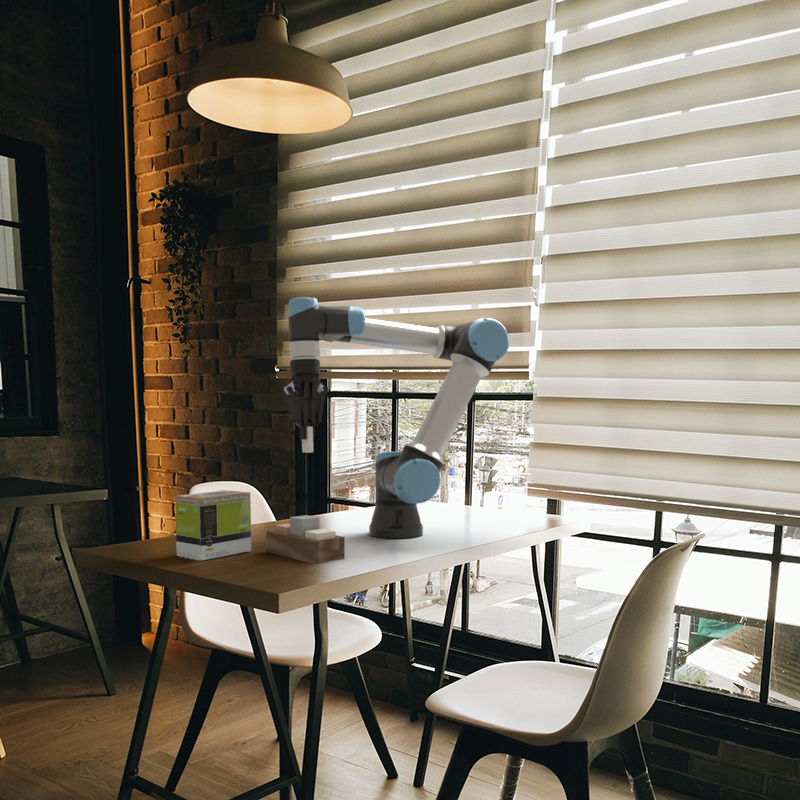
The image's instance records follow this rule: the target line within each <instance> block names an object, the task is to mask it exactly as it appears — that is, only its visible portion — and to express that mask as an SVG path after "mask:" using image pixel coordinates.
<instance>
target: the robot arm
mask: <svg viewBox="0 0 800 800" xmlns="http://www.w3.org/2000/svg"><path fill="white" fill-rule="evenodd" d="M318 301H319V300H318V299H317V298H316V297H312V296H311V297H310V296H298V297H293V298H291V299H289V301H288V315H287V318H288V335H289V337H288V338H289V341H288V342H289V346H288V347H289V358H290V359H291V360H290V361H289V373H290V375H291V378H290V381H289V384H288V385H287V386H283V387H282V392H283V393H284V395H285V397H286V400H287V401H286V402H287V405H288V409H289V414H290V418H291V423H292V425H296V427H298V428H299V429H298V430H299V439H300V440H301V451H302V453H306V454H308V453H314V439H315V438H316V428H315V427H316V426H318V424H321V423H322V418H323V412H324V406H325V400H326V395H327V393H328V390H329V387H328V386H327V385H323V384H322V383H321V379H320V374H321V361H320V360H319V359H318V358H320V356H321V354H320V339H321V340H322V341H324V342H329V343H332V342H339V343H350V344H357V345H363V346H365V345H366V346H371V347H379V348H385V349H386V348H387V349H392V350H399V351H400V350H401V351H406V352H414V353H422V354H428V355H432V356H433V358H435V359H439V360H444V361H451V362H452V365H451V366H450V368H449V370H448V372H447V373H446V374H447V375H446V376H445V378H444V380H443V382H442V384H441V385H440V388H439V390H438V392H437V394H436V395H435V398H434V400H433V401H432V403H431V406H430V408H429V410H428V412H427V413H426V416H425V418H424V420H423V421H422V424H421V425H420V427H419V429H418V431H417V433H416V434H415V437H414V439H413V441H410V442H408V443H405V444H404V445H403V448H402V450H397V451H396V450H395V451H383V452H379V453H378V454H376V457H375V463H374V467H375V469H374V470H375V471H374V472H375V497H374V498H375V507H374V510H373V514H372V518H371V521H370V524H369V526H368V533H369V536H371V537H375V538H383V539H384V538H385V539H410V538H416V537H420V536H422V535H424V533H423V532H424V525H423V524H422V522H421V517H420V514H419V510H418V507H417V506H418V504H423V503H426V502H428V501H430V500H431V499H432V498H434V497H435V495H436V494H437V492H438V491H439V488H440V485H441V475H440V474H441V471H442V470H443V467H444V465H445V462H444V459H443V455H444V453H445V451H446V449H447V446H448V445H449V444H450V441H451V438H453V435H454V433H455V430H456V429H457V427H458V424H459V423H460V421H461V419H462V417H463V416H464V413H465V410H466V409H467V407H468V404H469V403H470V401H471V399H472V397H473V395H474V393H475V390H476V389H477V387H478V385H479V383H480V381H481V378H485V377H488V376H489V375H490V373H491V372H492V369H493V367H494V365H495V364H496V362H497V361H499V360H501V359H502V358H503V357H504V356H505V355H506V354H507V352H508V349H509V347H510V346H509V345H510V337H509V334H508V331H507V328H506V327H505V326H504V325H503V324H502V323H501V322H500V321H499V320H496V319H494V318H491V317H488V318H487V317H481V318H478V319H475V320H473V321H471V322H467V323H463V324H458V325H441V324H438V326H436V327H433V326H432V327H430V326H424V325H419V324H411V323H405V322H398V321H397V322H396V321H390V320H383V319H376V318H370V317H366V313H365V309H364V308H362V307H361V306H352V305H347V306H346V305H343V306H340V305H339V306H335V305H334V306H329V305H328V306H327V305H326V306H325V305H324V306H323V305H319V302H318Z"/></svg>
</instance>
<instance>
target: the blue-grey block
mask: <svg viewBox="0 0 800 800" xmlns="http://www.w3.org/2000/svg"><path fill="white" fill-rule="evenodd" d="M289 523H290V535H295V536H300V537H305V531H310V530H318V529H320V516H314V515H313V516H312V515H308V514H307V515H306V514H305V515H298V516H290V517H289Z"/></svg>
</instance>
